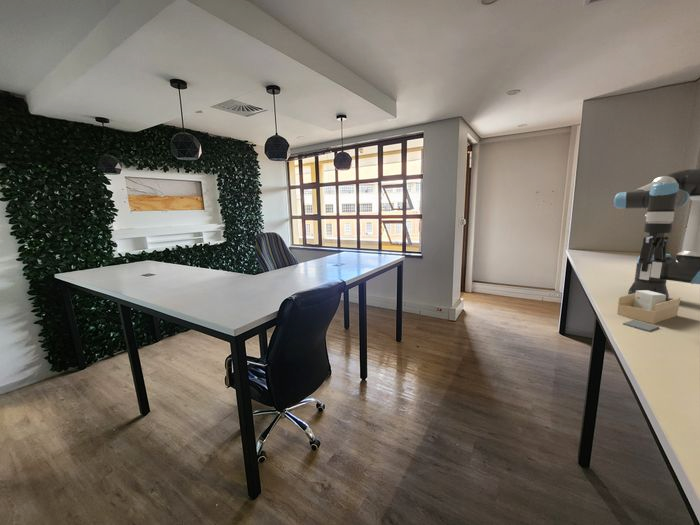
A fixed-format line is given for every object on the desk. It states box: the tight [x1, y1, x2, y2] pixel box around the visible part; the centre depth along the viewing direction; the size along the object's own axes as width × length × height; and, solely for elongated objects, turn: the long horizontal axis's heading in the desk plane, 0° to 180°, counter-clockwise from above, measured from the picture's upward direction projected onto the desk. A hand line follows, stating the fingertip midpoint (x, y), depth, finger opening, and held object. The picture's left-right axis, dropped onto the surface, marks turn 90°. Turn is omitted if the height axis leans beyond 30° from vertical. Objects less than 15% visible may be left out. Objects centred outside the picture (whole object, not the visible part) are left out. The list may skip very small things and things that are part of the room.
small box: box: [634, 290, 666, 312], centre depth 127 cm, size 8×6×10 cm
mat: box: [622, 319, 660, 333], centre depth 116 cm, size 8×8×1 cm
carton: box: [616, 293, 681, 325], centre depth 127 cm, size 21×12×8 cm, turn 114°
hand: (649, 278), depth 119 cm, fingers open, 8 cm apart
